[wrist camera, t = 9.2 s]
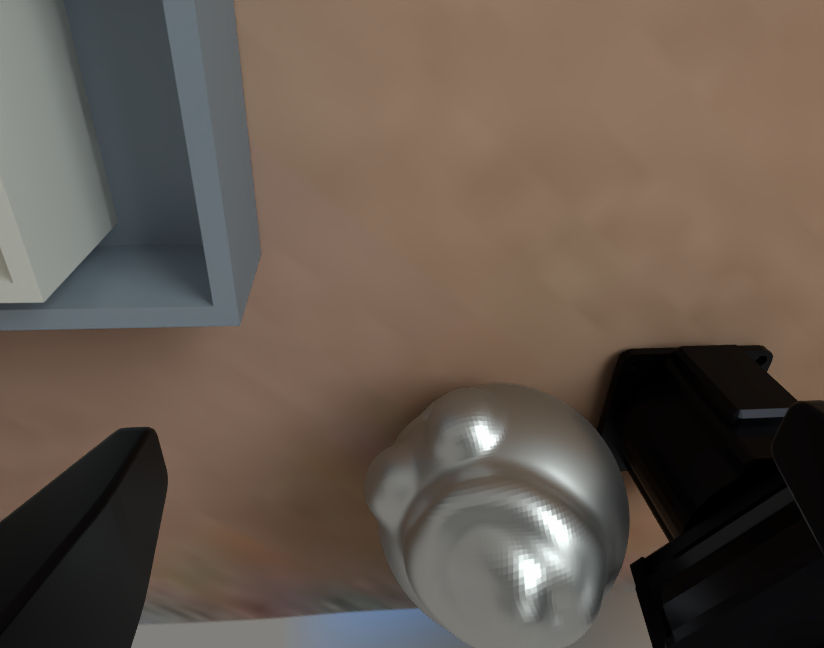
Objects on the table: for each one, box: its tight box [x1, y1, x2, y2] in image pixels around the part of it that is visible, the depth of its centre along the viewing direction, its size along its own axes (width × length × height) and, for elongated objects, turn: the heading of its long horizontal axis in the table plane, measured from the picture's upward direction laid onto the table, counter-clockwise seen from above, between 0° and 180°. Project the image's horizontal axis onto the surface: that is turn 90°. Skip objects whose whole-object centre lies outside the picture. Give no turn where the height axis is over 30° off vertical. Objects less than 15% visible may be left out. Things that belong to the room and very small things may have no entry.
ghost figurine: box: [364, 383, 629, 648], centre depth 19 cm, size 9×9×10 cm
